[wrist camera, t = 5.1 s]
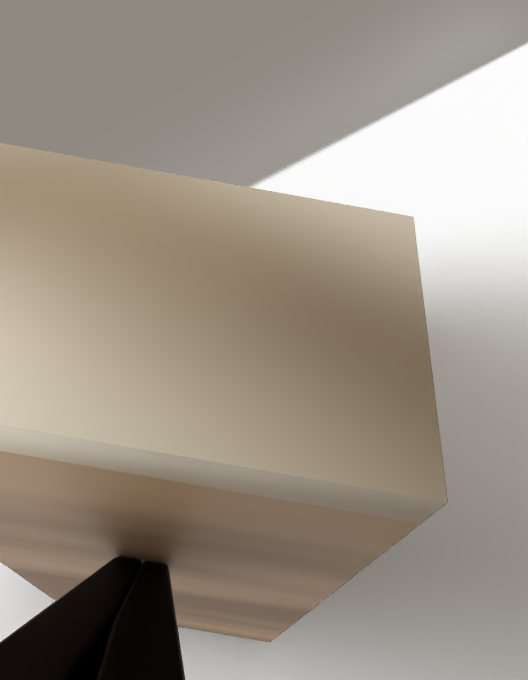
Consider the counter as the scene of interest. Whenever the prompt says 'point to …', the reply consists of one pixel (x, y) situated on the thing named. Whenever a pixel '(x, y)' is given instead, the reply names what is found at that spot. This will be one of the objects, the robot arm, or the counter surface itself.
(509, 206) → the counter surface
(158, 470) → the walnut block
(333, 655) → the counter surface
